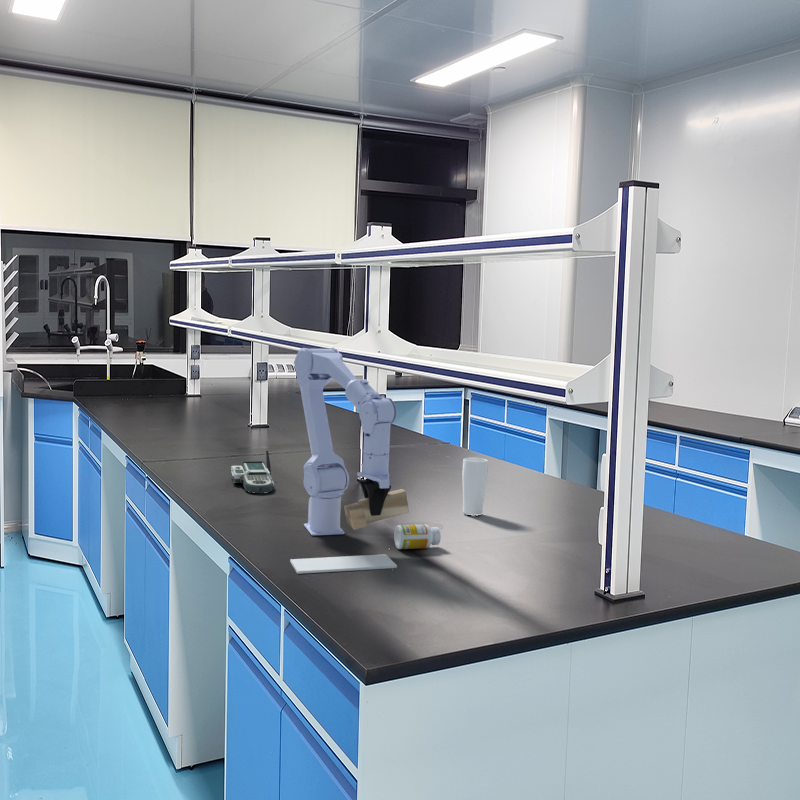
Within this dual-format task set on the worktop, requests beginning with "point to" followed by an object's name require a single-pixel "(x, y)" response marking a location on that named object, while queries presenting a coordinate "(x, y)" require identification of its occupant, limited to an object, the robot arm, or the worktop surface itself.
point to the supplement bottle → (416, 536)
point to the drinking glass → (474, 484)
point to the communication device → (254, 475)
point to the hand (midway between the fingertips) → (373, 513)
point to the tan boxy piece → (392, 507)
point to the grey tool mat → (342, 563)
